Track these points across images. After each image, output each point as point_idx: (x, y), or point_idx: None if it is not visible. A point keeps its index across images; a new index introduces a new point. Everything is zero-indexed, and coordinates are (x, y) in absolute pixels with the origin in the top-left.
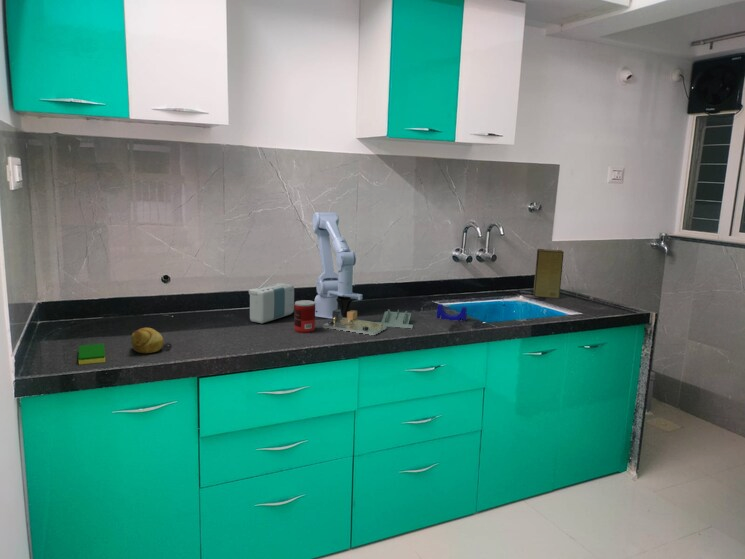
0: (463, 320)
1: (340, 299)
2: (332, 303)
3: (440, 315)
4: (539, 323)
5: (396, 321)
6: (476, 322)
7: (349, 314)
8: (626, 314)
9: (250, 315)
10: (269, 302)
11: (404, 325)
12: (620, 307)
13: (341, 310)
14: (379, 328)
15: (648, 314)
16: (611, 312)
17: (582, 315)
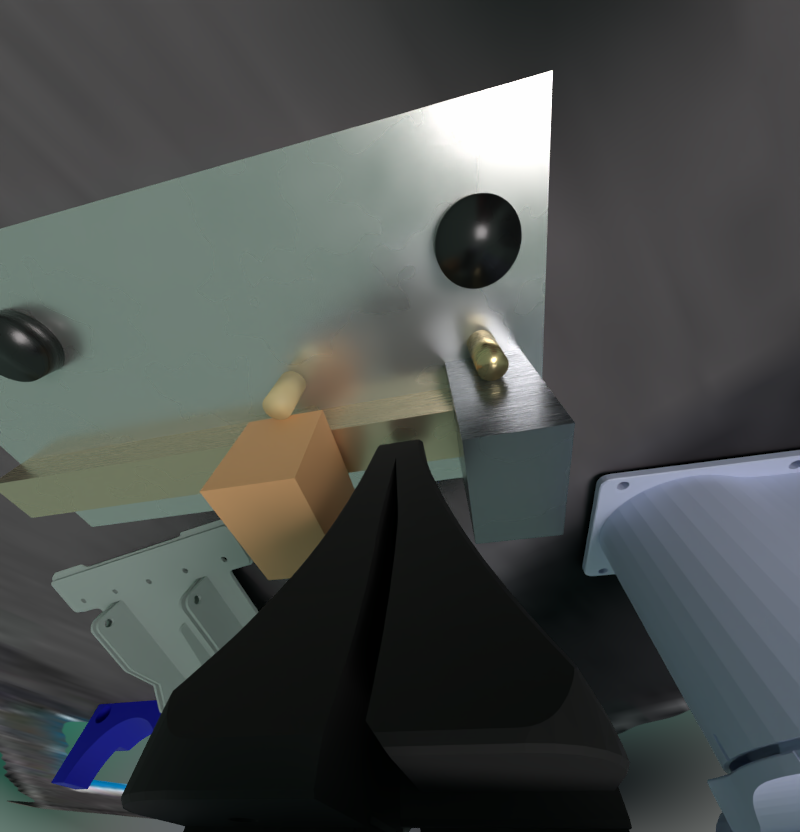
0: (98, 711)
1: (409, 762)
2: (715, 635)
3: None
4: (5, 748)
5: (169, 611)
6: (76, 712)
7: (265, 458)
8: (38, 800)
9: None
10: None
11: (99, 591)
12: (96, 811)
13: (416, 483)
14: (21, 447)
15: (26, 804)
16: (63, 800)
17: (57, 786)
